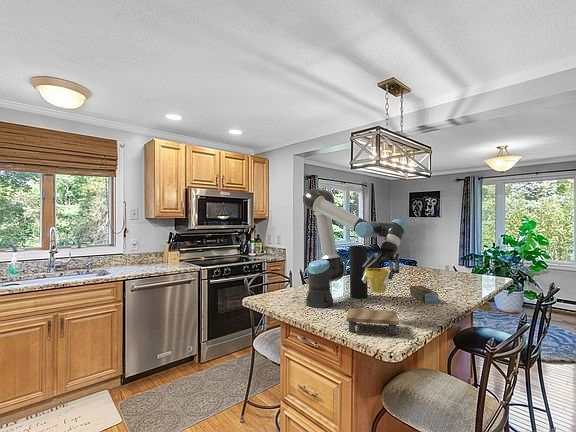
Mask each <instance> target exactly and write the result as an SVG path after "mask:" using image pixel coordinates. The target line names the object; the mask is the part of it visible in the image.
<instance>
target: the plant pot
mask: <svg viewBox="0 0 576 432" xmlns="http://www.w3.org/2000/svg"><path fill="white" fill-rule="evenodd" d="M388 271H390V269H388V268H384V267H374V268H369V269H366V277H367V278H368V279H367V283H368V284H369V286H368V287H369V290H370V291H371V292H372V293H385V292H386V291H387V286H385V284H384V280H385V278H386V276H387V273H388Z"/></svg>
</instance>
